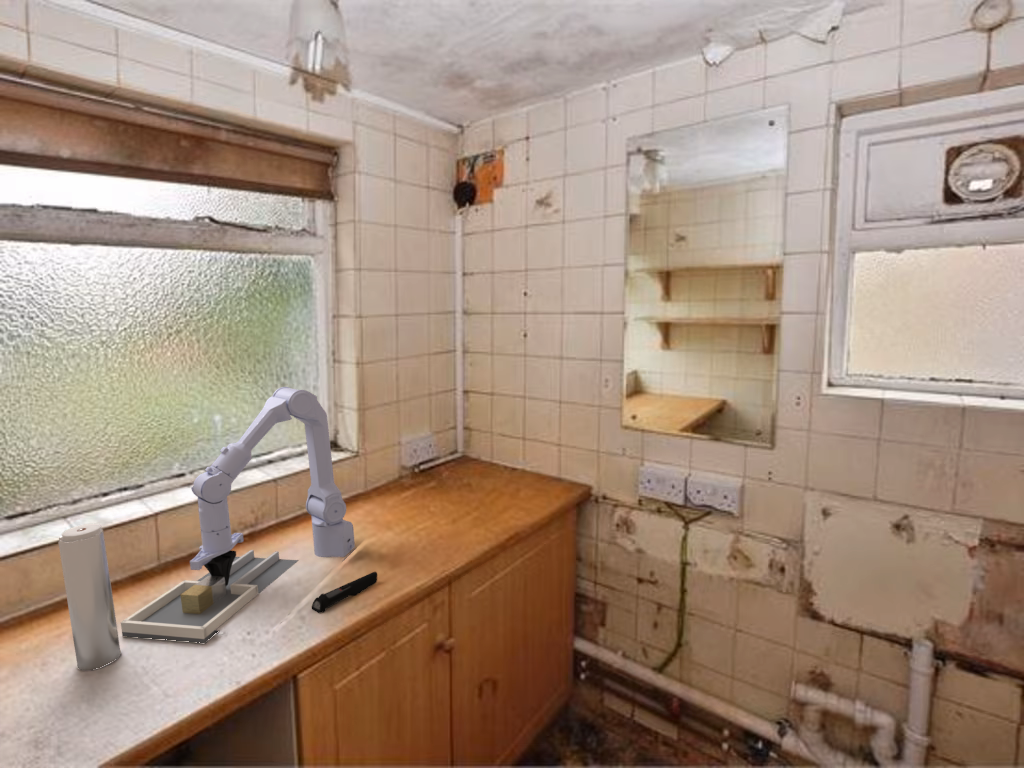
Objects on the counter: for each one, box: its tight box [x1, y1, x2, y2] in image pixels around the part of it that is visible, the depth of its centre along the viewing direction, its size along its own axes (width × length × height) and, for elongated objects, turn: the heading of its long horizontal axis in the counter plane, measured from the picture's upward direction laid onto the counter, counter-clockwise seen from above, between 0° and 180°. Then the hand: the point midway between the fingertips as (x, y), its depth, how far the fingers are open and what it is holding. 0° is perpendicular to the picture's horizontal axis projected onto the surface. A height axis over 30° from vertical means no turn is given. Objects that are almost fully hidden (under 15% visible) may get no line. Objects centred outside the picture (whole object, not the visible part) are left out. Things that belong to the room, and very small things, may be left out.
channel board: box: [120, 549, 299, 644], centre depth 125 cm, size 18×33×3 cm, turn 170°
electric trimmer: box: [311, 571, 378, 614], centre depth 124 cm, size 4×16×3 cm, turn 140°
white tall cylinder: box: [57, 523, 122, 671], centre depth 102 cm, size 6×6×25 cm
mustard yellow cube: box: [180, 585, 213, 614], centre depth 118 cm, size 4×4×4 cm
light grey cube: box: [195, 576, 226, 604], centre depth 122 cm, size 4×4×4 cm
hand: (222, 585), depth 126 cm, fingers closed
